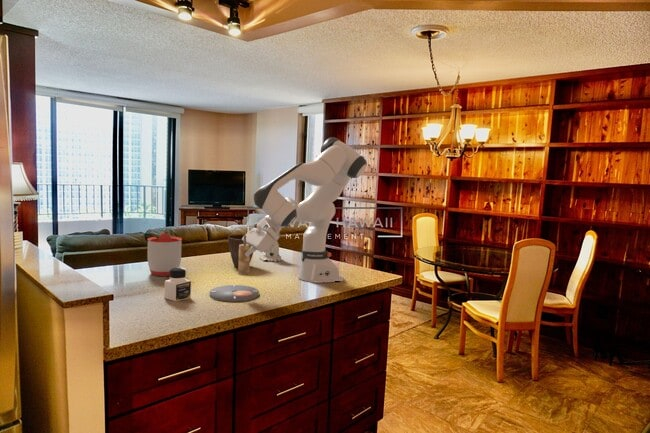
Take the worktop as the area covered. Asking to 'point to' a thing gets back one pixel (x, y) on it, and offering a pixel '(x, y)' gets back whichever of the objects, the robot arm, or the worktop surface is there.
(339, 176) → the robot arm
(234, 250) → the plant pot
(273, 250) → the green headed figurine
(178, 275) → the medicine bottle
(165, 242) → the citrus juicer
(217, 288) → the dial plate
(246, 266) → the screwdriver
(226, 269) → the worktop surface
